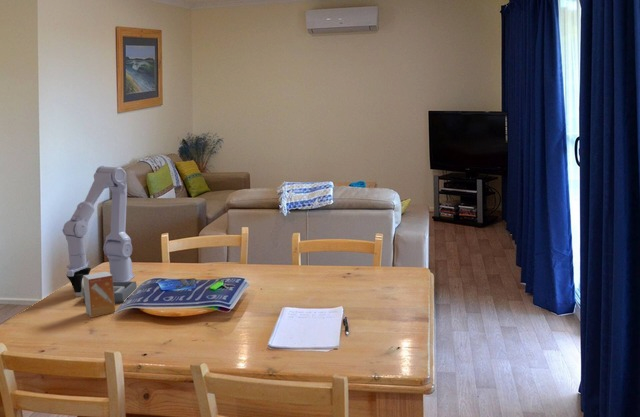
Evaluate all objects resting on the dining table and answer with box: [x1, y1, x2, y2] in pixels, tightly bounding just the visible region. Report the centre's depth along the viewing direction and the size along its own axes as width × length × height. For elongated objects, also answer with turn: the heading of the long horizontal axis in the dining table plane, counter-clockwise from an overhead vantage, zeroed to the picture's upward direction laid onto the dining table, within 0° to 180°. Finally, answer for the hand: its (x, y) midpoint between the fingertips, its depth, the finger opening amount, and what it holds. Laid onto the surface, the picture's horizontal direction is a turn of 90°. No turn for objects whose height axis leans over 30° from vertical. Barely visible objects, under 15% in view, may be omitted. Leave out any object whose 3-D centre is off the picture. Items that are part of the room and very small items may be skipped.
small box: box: [83, 271, 116, 318], centre depth 239 cm, size 8×6×13 cm
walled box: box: [82, 280, 138, 304], centre depth 257 cm, size 14×14×4 cm
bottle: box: [74, 278, 84, 298], centre depth 259 cm, size 4×4×8 cm
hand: (80, 290), depth 260 cm, fingers closed on bottle, 4 cm apart
